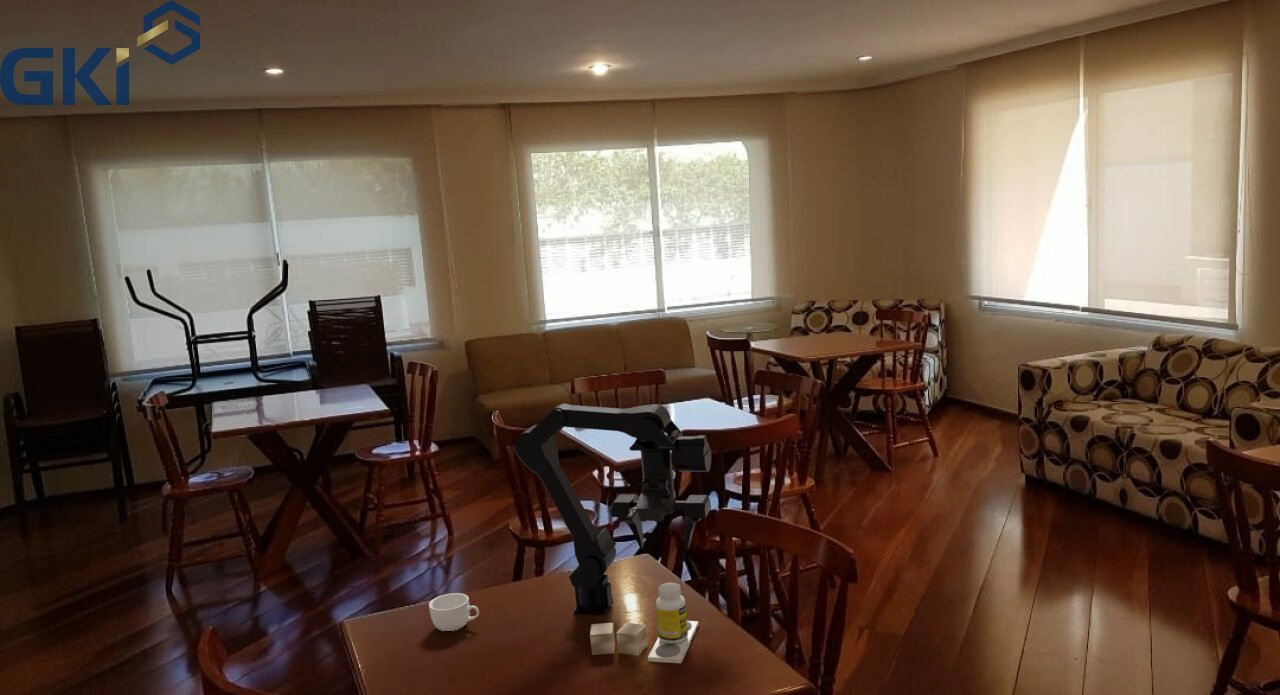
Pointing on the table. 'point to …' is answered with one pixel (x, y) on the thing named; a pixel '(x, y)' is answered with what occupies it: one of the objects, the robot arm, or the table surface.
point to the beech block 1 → (602, 638)
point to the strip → (673, 647)
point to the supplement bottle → (671, 614)
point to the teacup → (451, 611)
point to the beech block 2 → (632, 639)
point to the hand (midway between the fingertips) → (664, 548)
